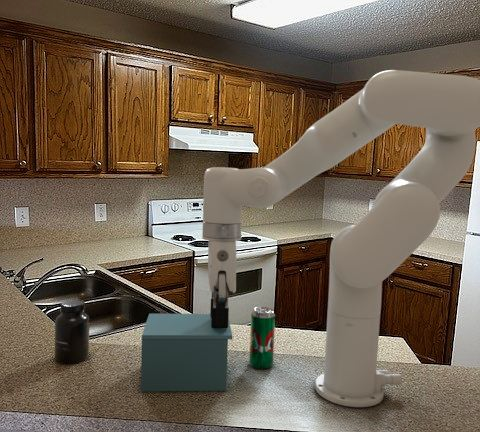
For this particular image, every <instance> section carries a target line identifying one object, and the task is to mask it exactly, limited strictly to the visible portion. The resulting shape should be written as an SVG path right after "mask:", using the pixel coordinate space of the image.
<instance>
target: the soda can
mask: <svg viewBox="0 0 480 432" xmlns="http://www.w3.org/2000/svg"><path fill="white" fill-rule="evenodd" d="M252 309H253V310H252V312H251V314H250V335H249V364H250V365H251V367H253V368H255V369H258V370H266V369H269V368H271V367H272V366H273V365H274V355H275V354H274V353H275V333H276V332H275V331H276V314H275V310H274V309H273V308H271V307H267V306H258V307H254V308H252Z"/></svg>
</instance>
